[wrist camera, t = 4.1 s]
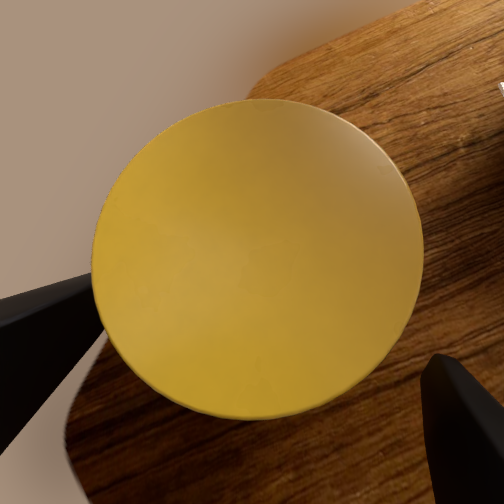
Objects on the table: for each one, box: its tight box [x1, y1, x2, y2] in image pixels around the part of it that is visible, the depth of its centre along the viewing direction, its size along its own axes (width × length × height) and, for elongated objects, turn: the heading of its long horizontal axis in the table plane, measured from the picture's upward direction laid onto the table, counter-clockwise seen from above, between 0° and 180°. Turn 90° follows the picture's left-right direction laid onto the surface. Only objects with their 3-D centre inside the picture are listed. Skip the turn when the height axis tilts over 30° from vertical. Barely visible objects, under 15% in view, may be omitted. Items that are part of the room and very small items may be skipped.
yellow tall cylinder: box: [91, 99, 424, 421], centre depth 10 cm, size 5×5×13 cm
